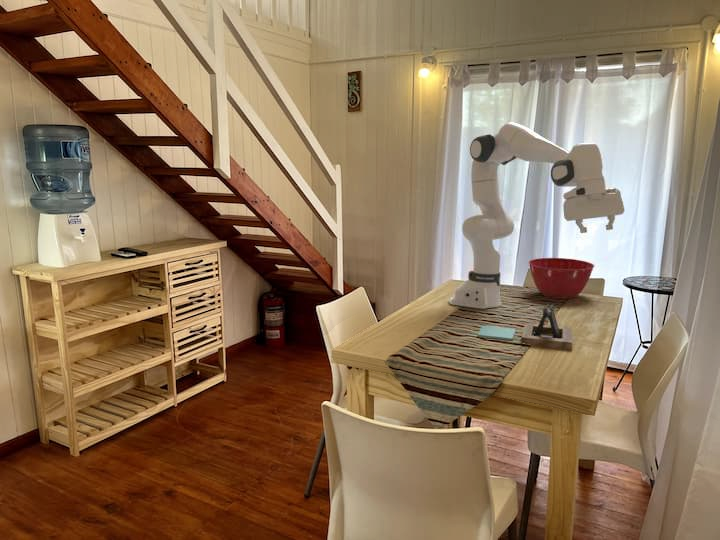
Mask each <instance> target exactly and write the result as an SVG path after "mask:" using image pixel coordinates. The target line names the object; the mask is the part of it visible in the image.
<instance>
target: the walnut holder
mask: <svg viewBox="0 0 720 540" xmlns="http://www.w3.org/2000/svg"><path fill="white" fill-rule="evenodd" d="M538 325H539V323H530V322H529V323H528V322H525V323H524V325H523V326H524V327H523V330H522V334H521V336H520V337H521V339H520V343H525V344H530V345H529V346H532V345H533V346H534V347H541V348H552V349H558V350H559V349H560V350H567V351H568V350H570V351H572V349H573V332H572V331H573V328H572V327H571V326H561V325H558V327H559V331H560V334H561V337H562V338H561V339H558V338H549V337H539V336H534V334H533V332H536V330H537V327H538ZM541 335H549V336H550V335H551V336H553V335H552V330H551V325H550V324H549V325H547V324H544V326H543V329H542V331H541Z"/></svg>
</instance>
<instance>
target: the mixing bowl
mask: <svg viewBox="0 0 720 540" xmlns="http://www.w3.org/2000/svg"><path fill="white" fill-rule="evenodd" d="M528 264H529V269H530V274H531V276H532V279H533V282H534V284H535V287H536V289H537V290H538V291H539V292H540V293H541V294H542V295H543V296H544V297H547V298H550V297H551V299H557V298H561V299H560V300H567V299H574V298H575V297H577V296H578V295H579V294H581V293H582V291H583V290H584V289H585V287H586V285H587V284H588V282H589V280H590V278H591V276H592V272H593V271H594V268H595V264H593V263H592V262H588V261H586V260H580V259H574V258H567V257H566V258H562V257H541V258H539V257H538V258H534V259H531V260H528Z"/></svg>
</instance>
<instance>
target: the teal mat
mask: <svg viewBox="0 0 720 540" xmlns="http://www.w3.org/2000/svg"><path fill="white" fill-rule="evenodd" d="M516 329H517V328H511V327H500V326H490V325H482V326H481V328H480V329H479V331H478V333H477V337H478V336H479V337H478V338H483V337H487V338H486V339H493V338H498V339H497V340H502V339H507V340H506V341H511V340H513V341H514V337H515V335H516V332H515V331H517V330H516ZM514 334H515V335H514Z"/></svg>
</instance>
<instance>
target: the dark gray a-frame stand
mask: <svg viewBox="0 0 720 540" xmlns="http://www.w3.org/2000/svg"><path fill="white" fill-rule="evenodd" d="M549 306H550V307H549ZM548 307H549V308H548ZM555 308H556V307H555V306H554V304H551V305H550V303H548V304H546V305H545V307H544V309H543V310H542V318H541V320H540V322H539V323H538V324H539V325H538V327H537V330H536V332H535V333H534V334H533V336H539V337H549V338H558V339H562V336H561V334H560V331H559V327H558V326H559V324H558V322H557V318H556V315H555ZM548 309H549V310H550V311H549V310H548ZM547 319H549V323H550V324H549V325H551V330H552V335H551V336H550V335H546V334H541V331H542V329H543V326H544V325H545V323H546V320H547Z"/></svg>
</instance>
